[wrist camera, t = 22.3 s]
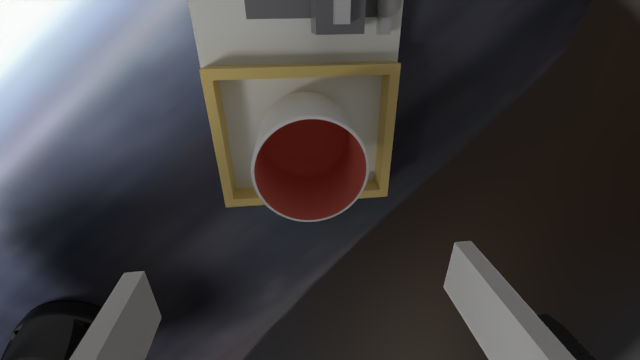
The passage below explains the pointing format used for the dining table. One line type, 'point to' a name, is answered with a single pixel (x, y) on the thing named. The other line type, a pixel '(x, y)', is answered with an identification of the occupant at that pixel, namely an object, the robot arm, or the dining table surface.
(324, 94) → the panel
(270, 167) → the cup
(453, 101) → the dining table surface
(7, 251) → the dining table surface
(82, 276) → the dining table surface
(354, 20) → the breaker
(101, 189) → the dining table surface
